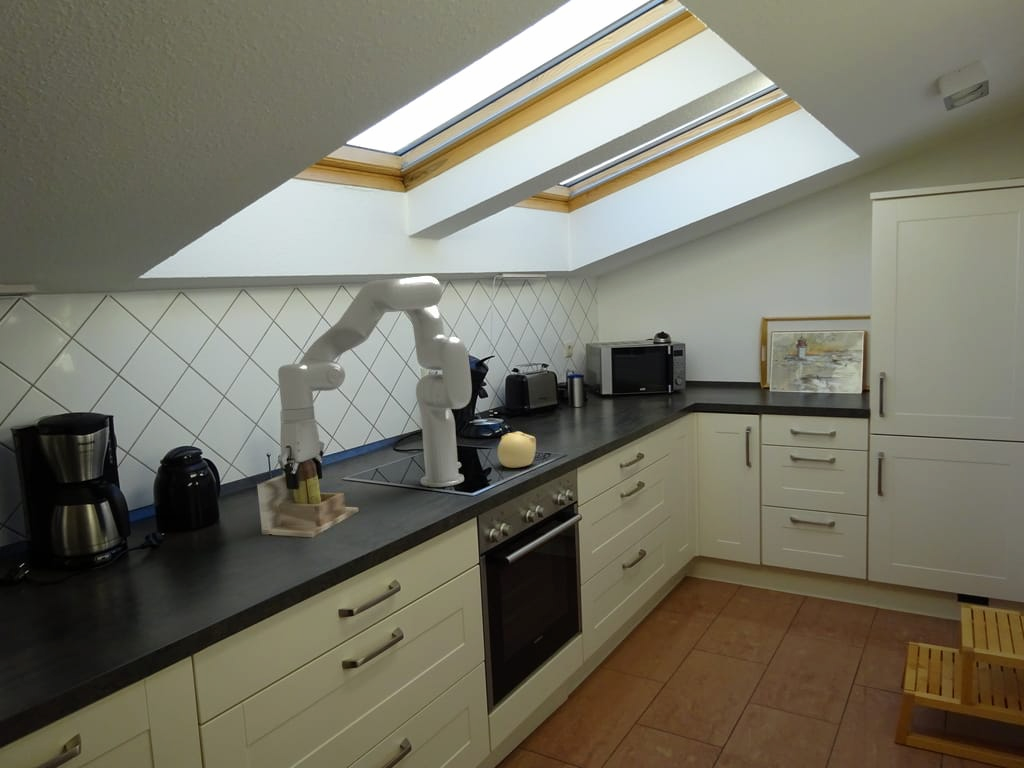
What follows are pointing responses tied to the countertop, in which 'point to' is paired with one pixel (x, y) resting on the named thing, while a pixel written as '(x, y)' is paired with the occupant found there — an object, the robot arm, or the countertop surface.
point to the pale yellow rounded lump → (516, 449)
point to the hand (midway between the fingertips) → (305, 483)
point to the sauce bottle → (307, 484)
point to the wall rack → (298, 510)
